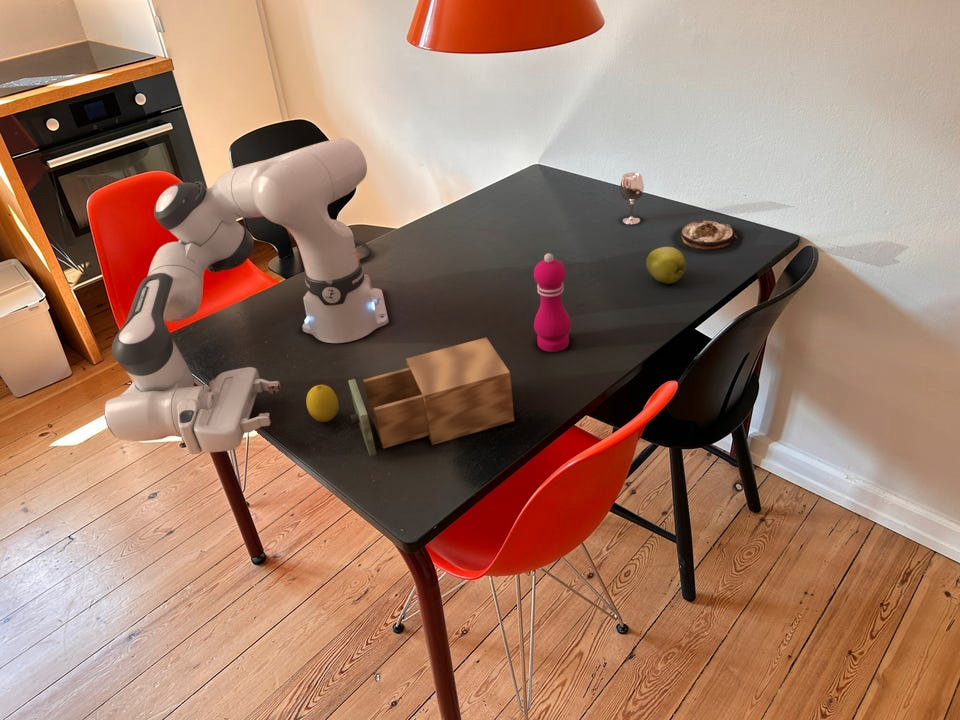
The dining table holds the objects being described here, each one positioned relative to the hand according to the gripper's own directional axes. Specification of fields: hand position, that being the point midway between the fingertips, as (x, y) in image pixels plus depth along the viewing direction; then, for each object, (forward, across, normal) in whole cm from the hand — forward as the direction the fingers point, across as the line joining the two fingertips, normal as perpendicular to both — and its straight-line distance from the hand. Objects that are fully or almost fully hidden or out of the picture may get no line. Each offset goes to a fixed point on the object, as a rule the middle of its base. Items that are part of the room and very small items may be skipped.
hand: (274, 402), depth 137 cm
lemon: (+8, 0, -6) cm, 10 cm away
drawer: (+22, +5, -4) cm, 23 cm away
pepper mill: (+52, -18, -6) cm, 55 cm away
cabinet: (+33, +2, -5) cm, 34 cm away
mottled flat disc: (+94, -56, -6) cm, 110 cm away
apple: (+80, -38, -6) cm, 88 cm away
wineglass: (+79, -71, -6) cm, 106 cm away
